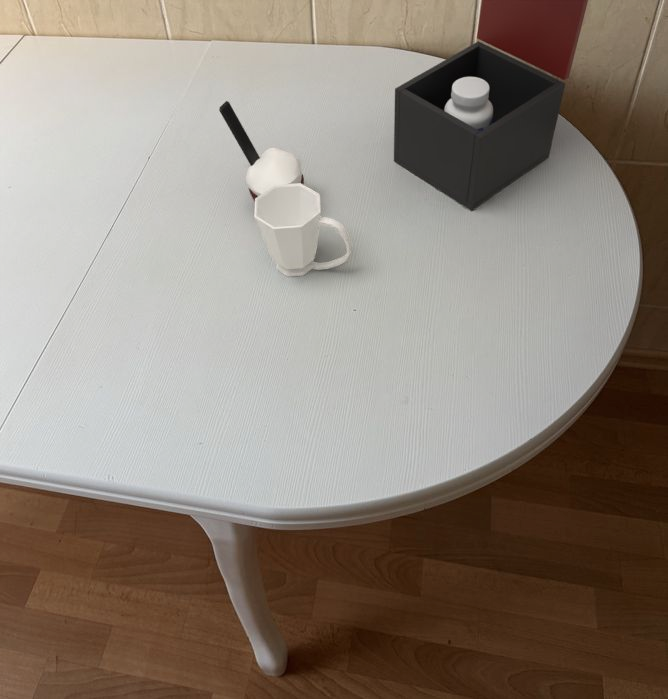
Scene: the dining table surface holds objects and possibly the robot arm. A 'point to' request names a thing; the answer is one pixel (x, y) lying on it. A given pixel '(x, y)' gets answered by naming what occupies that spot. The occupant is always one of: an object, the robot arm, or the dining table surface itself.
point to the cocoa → (263, 159)
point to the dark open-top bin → (464, 140)
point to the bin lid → (534, 31)
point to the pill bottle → (471, 102)
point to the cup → (294, 228)
